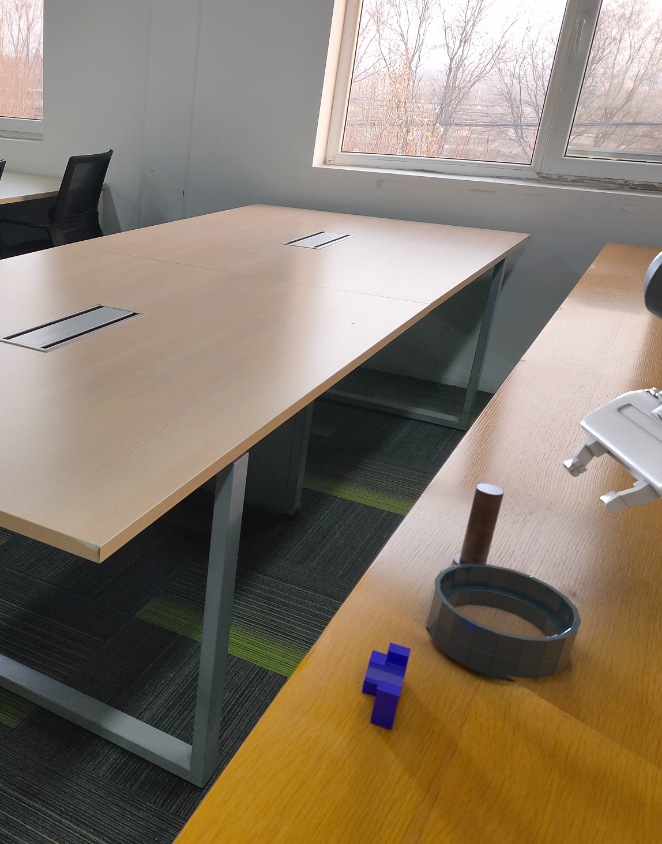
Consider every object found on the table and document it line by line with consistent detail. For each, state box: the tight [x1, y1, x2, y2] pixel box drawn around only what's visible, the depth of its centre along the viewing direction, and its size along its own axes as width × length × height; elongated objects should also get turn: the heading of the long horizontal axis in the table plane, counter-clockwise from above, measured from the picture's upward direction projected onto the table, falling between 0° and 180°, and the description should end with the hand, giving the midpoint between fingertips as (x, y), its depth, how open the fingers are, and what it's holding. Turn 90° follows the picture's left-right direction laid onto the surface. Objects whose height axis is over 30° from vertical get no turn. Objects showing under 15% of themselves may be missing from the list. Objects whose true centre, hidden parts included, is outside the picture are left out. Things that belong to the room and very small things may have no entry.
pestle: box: [450, 483, 505, 567], centre depth 97 cm, size 4×4×13 cm
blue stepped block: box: [361, 642, 412, 731], centre depth 79 cm, size 8×4×4 cm, turn 153°
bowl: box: [425, 563, 582, 683], centre depth 87 cm, size 14×14×6 cm
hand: (585, 488), depth 92 cm, fingers open, 8 cm apart
